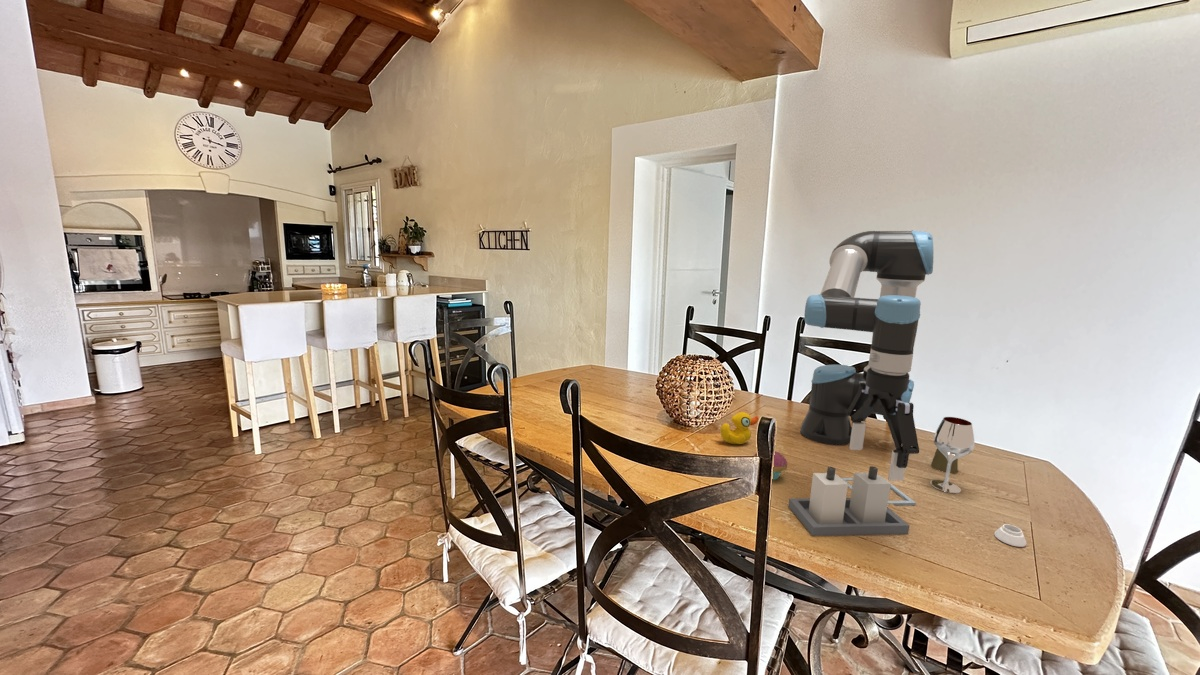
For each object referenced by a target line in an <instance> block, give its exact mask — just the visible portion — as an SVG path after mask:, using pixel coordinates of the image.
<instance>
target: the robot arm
mask: <svg viewBox="0 0 1200 675" xmlns="http://www.w3.org/2000/svg"><path fill="white" fill-rule="evenodd" d="M933 238H934V237H933V235H932V234H931V233H930V232H927V231H921V230H919V231H918V230H914V229H913V230H867V231H862V232H859V233H855V234H853V235H851V236H849V237H846V238H845V239H844V240H843V241H841V242H840V243H839V244H837V245H836V247H835V248H833V250H832V252H831V254H830V257H829V266H830V267H829V271H828V273H827V276H826V279H825V281H824V283H823V286H822V289H821V292H820V294H811V295H809V296H808V297H807V298H806V300H805V301H806V302H805V306H804V319H803V320H804V323H805V324H806V325H807V326H811V327H818V328H821V329H824V328H827V329H837V330H848V331H857V332H868V333H872V338H871V344H870V354H869V359H868V364H867V365H866V366H864V368H863V373H862V372H856V371H857V370H856V368H855V367H854V366H852V365H848V364H847V365H846V364H825V365H820V366H818V367H816V368H815V369H814V371H813V374H812V379H811V389H810V398H809V407H808V411H807V412H806V415H805V417H804V419H803V421H802V423H801V425H800V434H801V435H802V436H803V437H804V438H806V439H808V440H810V441H813V442H816V443H819V444H823V445H829V446H847V445H849V446H848V448H849V450H851V451H863V448H864V440H865V433H866V427H867V423H865V422H866V421H867V419H868V417H870V416H871V415H872V414H874V415H879V416H882V417H883V420H885V421H886V423H887V425H888V429H889V431H890V435H891V438H892V441H893V444H894V447H895V449H892V452H891V457H890V463H889V464H890V465H889V471H888V475H887V476H888V477H887V478H888V480H889V482H891V481H892V482H896V481H897V482H899V481H900V482H901V481H904V478H905V472H906V469H907V467H908V464H909V457H910V455H913V454H916V455H918V454H920V446H919V441H918V435H917V429H916V424H915V419H914V403H913V402H911V399H912V395H913V390H914V387H915V381H913V380H912V379H910V372H911V371H912V364H913V357H914V348H915V342H916V338H917V333H918V332H917V331H918V326H919V319H920V318H921V305H922V304H921V303H922V302H921V300H920V298H918V297H916V296H917V289H918V286H920V285H921V284H922V283H923V282H925V280H926V275H927V276H929V275H932V274H933V271H934V239H933ZM863 272H870V273H871V272H873V273H876V278H875V279H876V280H877V281H878V282H879V283H880V285H881V288H880V294H879V298H877V299H876V298H862V297H855V296H856V292H857V288H858V283H859V281H860V277H861V274H862V273H863Z"/></svg>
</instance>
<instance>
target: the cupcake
mask: <svg viewBox="0 0 1200 675" xmlns="http://www.w3.org/2000/svg"><path fill="white" fill-rule="evenodd" d="M774 451H775V455H774V467H773V480H772V481H776V480H778V479H779V478H780V475H781V473H782V472H783V471H786V470H787V469H788V461H787V459H786V458H785V456H784V455H783V454H782V453H780V452H777V451H776V450H774ZM753 456H757V452H756V453H754V455H753Z"/></svg>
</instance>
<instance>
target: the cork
mask: <svg viewBox="0 0 1200 675" xmlns="http://www.w3.org/2000/svg"><path fill="white" fill-rule="evenodd" d="M958 461H959V458H958V459H955V460H954V461H953V462H952V464H951V469H950V474H957V473H958V471H959V470H958V469H959V468H958V466H959V462H958ZM947 463H948V460H947V458H946V457H945V456H944V455H943V454H942V453H941V452H940V451H939V450H938V448H937V447H936V450H935V453H934V455H933V458H932V461H931V465H930V466H931V467H932V468H933V467H934V468H933V469H935V470H937V471H939V470H940V472H942V471H943V473H946V469H947ZM956 472H957V473H956Z"/></svg>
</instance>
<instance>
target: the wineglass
mask: <svg viewBox="0 0 1200 675" xmlns="http://www.w3.org/2000/svg"><path fill="white" fill-rule="evenodd" d="M974 435H975V434H974V428H973V423H972V422H971V421H969V420H967V419H965V418H960V417H954V416H943V417H942V420H941V421H940V423H939V425H938V427H937V429H936V430H935V433H934V435H933V444H934V445H935V447H936V449H937V448H938V450H939V451H940V452H941V453H942V454H943V455H944V456H945V457H946V458H947V460H948V463H947V469H946V472H945V476H944V479H943V480H942V479H931V480H930V483H929V484H930V486H932V487H933V488H935V489H937V490H939V491H941V492H945V493H948V494H960V493H961V492H962V489H961V488H960V487H959V486H958V485H956V484H955V483H952V482H950V481H949V479H950V474H951V473H950V469H951V464H952V462H953V461H954V460H955V459H958V460H959V459H961V458H963V457H966V456H968V455H969V454H971V453H972V452H973V451H974V449H975V436H974Z"/></svg>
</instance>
